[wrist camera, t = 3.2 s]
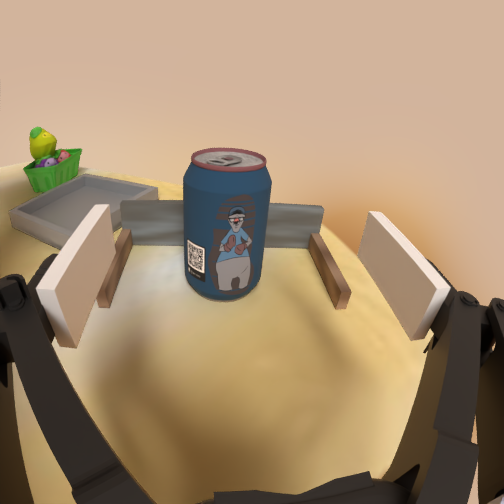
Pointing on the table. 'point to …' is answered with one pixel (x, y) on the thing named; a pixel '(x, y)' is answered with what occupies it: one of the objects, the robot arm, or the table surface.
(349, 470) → the table surface
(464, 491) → the robot arm
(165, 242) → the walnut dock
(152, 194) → the grey tray
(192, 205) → the soda can
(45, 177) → the fruit basket
